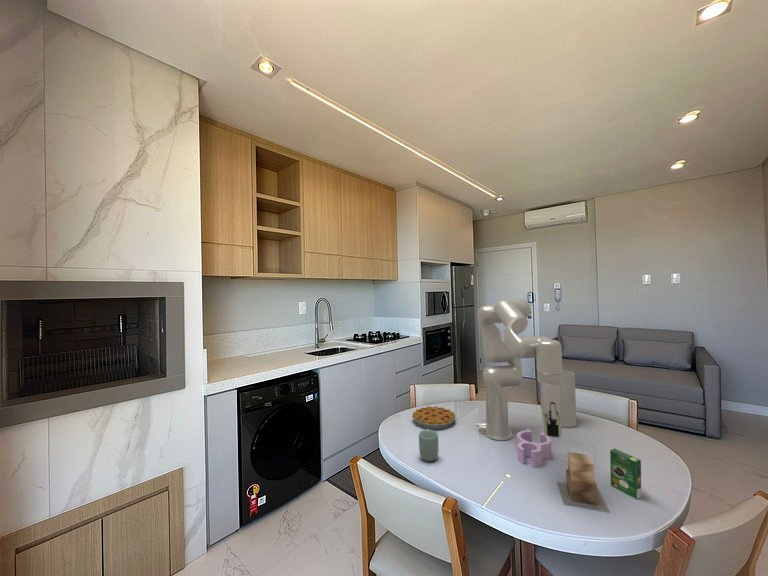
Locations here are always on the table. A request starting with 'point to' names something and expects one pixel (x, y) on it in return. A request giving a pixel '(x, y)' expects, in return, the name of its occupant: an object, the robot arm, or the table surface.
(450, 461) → the table surface
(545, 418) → the brick sage
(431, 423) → the pie
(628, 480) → the coffee box
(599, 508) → the base tile
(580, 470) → the brick oak
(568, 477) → the brick walnut
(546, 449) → the clip
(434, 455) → the cup
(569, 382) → the cylinder vase
